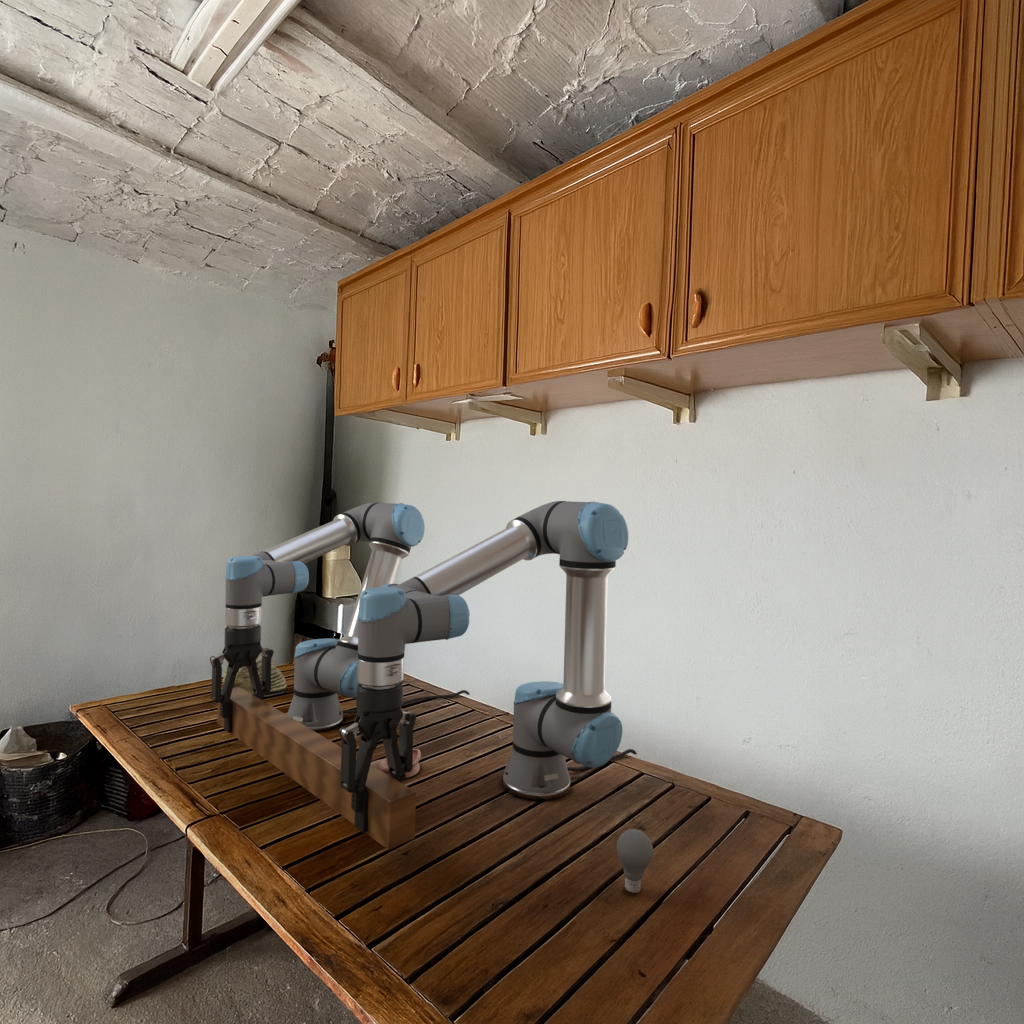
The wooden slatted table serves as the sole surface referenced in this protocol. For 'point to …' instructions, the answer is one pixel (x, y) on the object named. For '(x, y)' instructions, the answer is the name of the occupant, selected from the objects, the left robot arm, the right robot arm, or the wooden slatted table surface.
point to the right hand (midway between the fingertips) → (376, 822)
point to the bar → (321, 767)
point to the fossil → (245, 683)
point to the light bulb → (634, 857)
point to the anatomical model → (383, 767)
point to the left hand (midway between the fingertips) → (241, 727)
